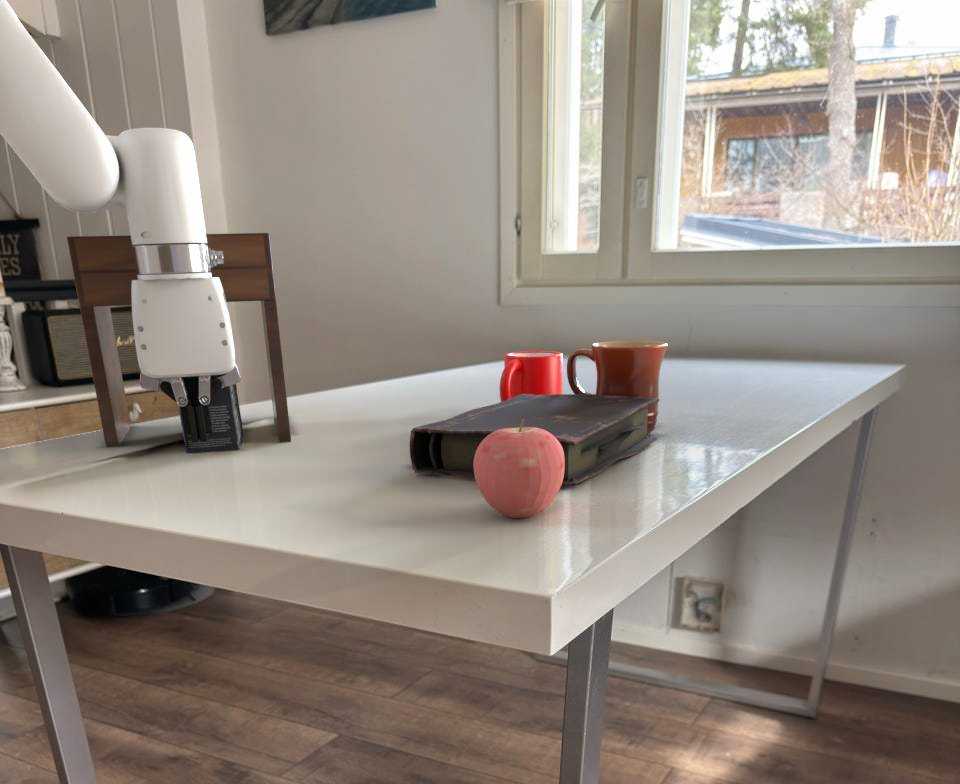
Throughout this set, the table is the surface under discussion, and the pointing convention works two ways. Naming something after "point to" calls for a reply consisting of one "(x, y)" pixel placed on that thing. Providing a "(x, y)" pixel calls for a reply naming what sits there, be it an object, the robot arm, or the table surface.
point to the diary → (568, 417)
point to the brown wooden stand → (108, 281)
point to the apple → (519, 470)
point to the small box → (216, 419)
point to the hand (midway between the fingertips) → (200, 439)
